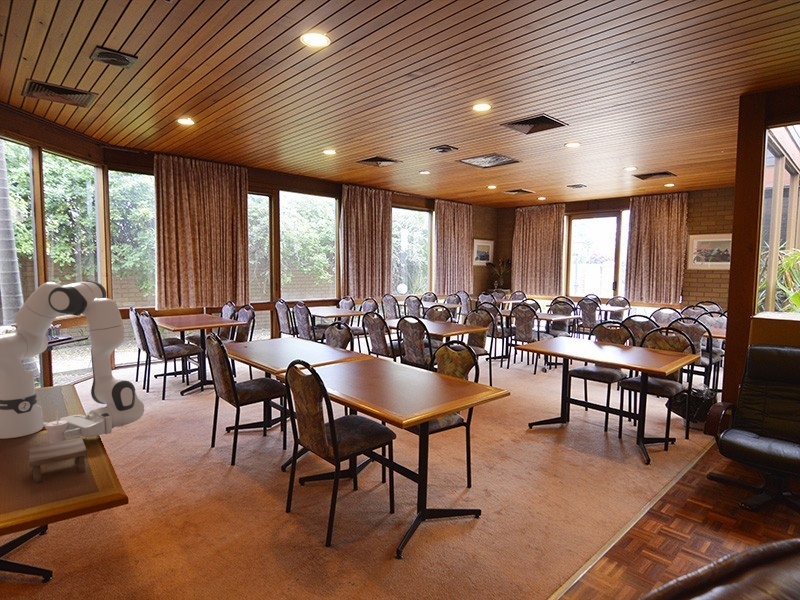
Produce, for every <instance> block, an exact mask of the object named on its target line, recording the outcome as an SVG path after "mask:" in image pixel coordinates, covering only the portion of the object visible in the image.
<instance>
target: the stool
mask: <svg viewBox="0 0 800 600" xmlns="http://www.w3.org/2000/svg"><path fill="white" fill-rule="evenodd" d="M87 451H88V450H87V447H86V444H85V443H84V440H83V437H78V438H72V439H67V440H66V439H65V441H61V442H56V443H51V444H50V443H47V444H42V445H35V446H32V447H28V456H29V457H28V459H29V468H32V478H33V484H39V483H40V482H42V475H41V474H42V473H41V466H42V465H48V464H53V463H56V462H61V461H66V460H71V459H74V462H77V472H78V473H79V474H81V473H84V472H85V471H86V467H85V466H86V465H85V456H88V452H87Z"/></svg>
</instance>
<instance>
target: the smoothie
mask: <svg viewBox="0 0 800 600" xmlns="http://www.w3.org/2000/svg"><path fill="white" fill-rule="evenodd" d="M55 417H56V420H52V421H50V422H47V424H46V425H45V427H44V428H45V429H46V432H47V436H48V441H49V444H51V443H56V442H61V441H66V438H67V437H64V436H63V435H62V432H63V431H66V427H67V424H68V422H67V421H66V420H59V419H60V418H59V410H55Z"/></svg>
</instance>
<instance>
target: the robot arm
mask: <svg viewBox="0 0 800 600" xmlns="http://www.w3.org/2000/svg"><path fill="white" fill-rule="evenodd" d="M59 314H64V315H71V316H76V317H79V316H81V315H82V316H84V317H85V318H86V319H87V324H88V329H89V334H90V343H91V344H90V345H91V347H90V354H91V355H90V356H91V357H90V358H91V366H92V375H93V376H92V379H93V380H92V385H91V389H90V395H91V398H92V400H93V401H94V402H96V403H97V404H100V405H106V406H104V407H99V408H95V409H92V410H89V412H88V414H86V415H85V414H80V413H79V414H73V415H68V416H64V417H60V418H59V420H66V421H67V422H68V424H67V427H66V431H63V432H62V435H63V436H64V437H66V438H67V437H72V436H81V437H83V438H93V437H97V436H102V435H104V434H105V435H108V434H111V433H112V430H113V429H114V428H119V427H124V426H127V425H130V424H133V423H135V422H137V421H139V420H140V419H141V418H143V416H144V413H145V405H144V404H145V403H143V401H142V400H140V398H139V397H138V395H137V393H136V388H135V386H134V384H133V383H132V382H131V381H129V380H125V379H117V378H116V379H115V377H114V376H113V372H112V362H111V357H112V354H113V352H114V351H115V350H116V349H118V348H119V347H120V346H121V345H122V343H124V341H125V328H124V323H123V319H122V315H121V312H120V309H119V306H118V305H117V302H116V301H115V300H113V299H112V298H109V297H108V298H107V291H106V288H105V287H104V286H103V285H102V284H101V283H99V282H96V281H92V280H91V281H90V280H86V281H77V282H76V281H75V282H72V283H68V284H67V283H66V284H60V283H59V282H56V281H55V282H54V281H47V282H46V281H45V282H44V283H42V284H41V285H39V286H38V288H36V289H35V290H34V291H33V292H32V293H31V294H30V296H28V297H27V299H26V300H25V302H24V303H23V304H22V306H21V307H20V308H19V310H18V311H17V312H16V314H15V316H14V321H15V324H16V328H15V329H14V330H13V331H11V332H6V333H2V334H0V439H13V438H19V437H24V436H29V435H32V434H36V433H37V432H39V431H41V430H43V428H45V425H46V424H47V423H48V422H47V421H44V417H43V416H44V415H43V408H42V406H41V405H39V404H38V395H37V393H36V386H35V385H36V384H35V375H34V373H32V372H31V371H29V370H28V369H26V368H25V367H24V365H23V363H22V361H23V360H26V359H31V358H33V357H35V356H38V355H41V354H42V353H45V351H46V350H47V348H48V346H49V340H48V337H47V335H46V334H47V332H48V330H49V329H50V327H51V325H52V324H53V323H54V321H55V319H57V317H58V315H59Z"/></svg>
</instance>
